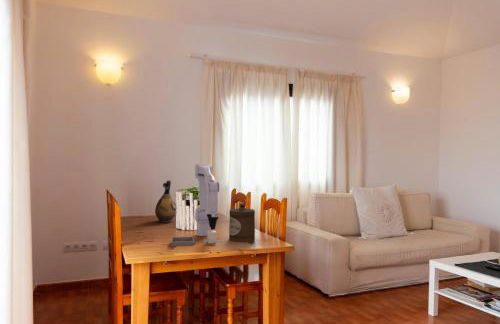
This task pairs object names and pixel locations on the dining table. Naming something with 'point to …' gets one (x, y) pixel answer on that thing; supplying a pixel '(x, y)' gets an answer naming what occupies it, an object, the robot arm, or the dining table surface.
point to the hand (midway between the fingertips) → (212, 228)
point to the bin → (181, 240)
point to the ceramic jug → (166, 205)
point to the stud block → (211, 243)
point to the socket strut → (211, 236)
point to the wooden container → (242, 224)
